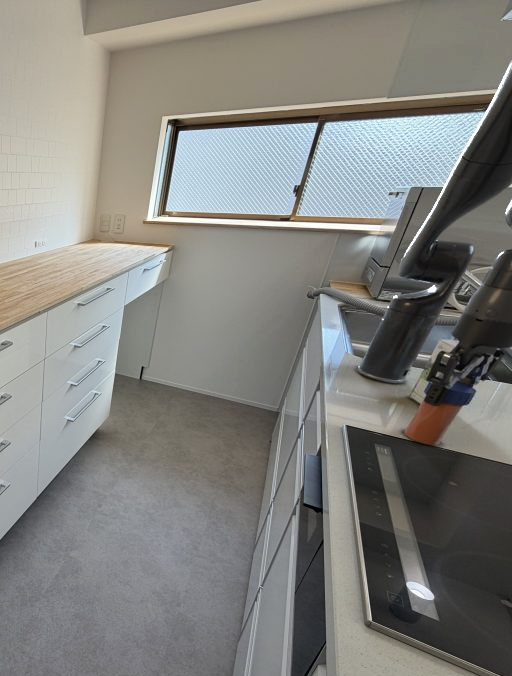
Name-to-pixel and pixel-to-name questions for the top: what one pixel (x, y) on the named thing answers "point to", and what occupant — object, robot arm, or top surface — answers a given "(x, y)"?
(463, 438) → the top surface
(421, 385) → the syrup box
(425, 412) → the jam jar
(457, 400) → the jar lid
